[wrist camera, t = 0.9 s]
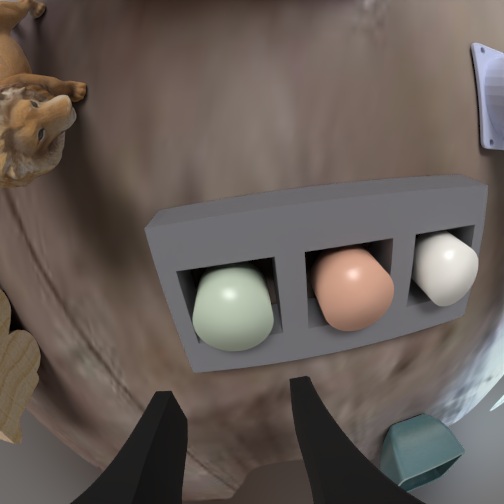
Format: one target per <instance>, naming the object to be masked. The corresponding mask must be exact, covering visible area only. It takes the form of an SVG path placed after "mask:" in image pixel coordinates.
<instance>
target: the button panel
mask: <svg viewBox="0 0 504 504" xmlns="http://www.w3.org/2000/svg"><path fill="white" fill-rule="evenodd" d="M487 196H488V185H486V184H483V183H481V182H478V181H476V180H473V179H471V178H468V177H466V176H463V175H436V176H418V177H403V178H390V179H377V180H366V181H355V182H345V183H336V184H327V185H318V186H309V187H301V188H293V189H286V190H278V191H271V192H264V193H257V194H250V195H244V196H237V197H231V198H225V199H219V200H213V201H207V202H201V203H195V204H190V205H184V206H179V207H173V208H168V209H163V210H159V211H158V212H157V213H156V214H155V216H154V217H153V218H152V219H151V221H150V222H149V223H148V225H147V226H146V227H145V229H144V230H145V233H146V237H147V240H148V244H149V247H150V250H151V254H152V257H153V260H154V264H155V267H156V270H157V273H158V276H159V280H160V283H161V286H162V289H163V292H164V295H165V298H166V301H167V303H168V306H169V309H170V312H171V315H172V318H173V320H174V323H175V326H176V329H177V331H178V334H179V337H180V339H181V342H182V345H183V347H184V350H185V352H186V355H187V357H188V360H189V362H190V365H191V367H192V370H193V372H194V373H196V372H208V371H219V370H229V369H237V368H246V367H253V366H261V365H268V364H274V363H281V362H287V361H293V360H299V359H304V358H310V357H315V356H320V355H325V354H330V353H335V352H339V351H344V350H348V349H353V348H357V347H361V346H365V345H369V344H373V343H377V342H381V341H385V340H389V339H392V338H396V337H399V336H403V335H406V334H410V333H413V332H417V331H420V330H423V329H426V328H429V327H432V326H436V325H439V324H442V323H445V322H447V321H450V320H453V319H456V318H459V317H462V316H464V312H465V309H466V306H467V302H468V299H469V295H470V291H471V288H470V289H469V290H468V292H467V293H466V294H465V295H464V296H463V297H462V298H461V299H460V300H459V301H457V302H456V303H454V304H452V305H449V306H438V305H436V304H435V303H434V302H433V301H432V300H431V299H430V298H429V297H428V296H427V294H426V293H425V292H424V291H423V290H422V289H421V288H420V287H419V286H418V285H417V284H416V282H415V281H414V280H413V279H412V278H411V272H412V265H413V256H414V247H415V236H416V234H421V233H427V232H433V231H439V230H445V229H447V232H449V233H450V234H452V235H453V236H455V237H456V238H457V239H459V240H460V241H462V242H463V243H465V244H466V245H467V246H469V247H470V248H472V249H473V250H474V251H475V253H476V254H477V257H479V252H480V247H481V241H482V235H483V229H484V222H485V214H486V206H487ZM365 242H371V251H370V254H371V255H372V256H373V257H374V258H375V259H376V261H377V262H378V263H379V264H380V265H381V266H382V267H383V268H384V270H385V271H386V272H387V273H388V274H389V275H390V277H391V279H392V281H393V284H394V296H393V299H392V302H391V304H390V306H389V308H388V310H387V311H386V312H385V314H384V315H383V316H382V317H381V318H380V319H379V320H377V321H376V322H375V323H373V324H372V325H370V326H368V327H366V328H363V329H360V330H356V331H342V330H338V329H336V328H334V327H332V326H331V325H330V324H329V323H328V322H327V320H326V319H325V316H324V314H323V312H322V309H321V307H320V305H319V302H318V300H317V298H316V297H315V298H309V299H307V284H306V267H305V252H308V251H314V250H321V249H327V248H333V247H340V246H346V245H353V244H359V243H365ZM269 257H271V259H272V267H273V275H274V284H275V292H276V300H277V304H273V305H271V306H272V312H273V318H274V322H273V327H272V330H271V332H270V334H269V335H268V337H267V338H266V339H265V340H264V341H263V342H261V343H260V344H258V345H257V346H255V347H253V348H250V349H247V350H242V351H224V350H220V349H217V348H214V347H212V346H210V345H208V344H207V343H205V342H204V341H203V340H202V339H201V338H200V337H199V336H198V335H197V333H196V331H195V329H194V326H193V312H194V307H195V301H196V296H197V292H196V288H195V285H194V281H193V277H192V274H191V270H190V269H195V268H202V267H209V266H215V265H222V264H229V263H236V262H242V261H249V260H255V259H262V258H269ZM471 287H472V286H471Z"/></svg>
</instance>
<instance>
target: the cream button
mask: <svg viewBox="0 0 504 504" xmlns="http://www.w3.org/2000/svg"><path fill="white" fill-rule="evenodd" d="M477 271H478V257H477V254H476V253H475V251H474V250H473V249H472V248H470V247H469V246H467V245H466V244H465V243H463V242H462V241H460V240H459V239H457V238H456V237H455V236H453V235H452V234H450V233H449V232H447V231H446V230H439V231H433V232H427V233H422V234H421V235H419V236H418V237H417V239H416V240H415V247H414V256H413V265H412V272H411V278H412V279H413V280H414V281H415V282H416V284H417V285H418V286H419V287H420V288H421V289H422V290H423V291H424V292H425V293H426V294H427V296H428V297H429V298H430V299H431V300H432V301H433V302H434V303H435V304H436V305H438V306H449V305H452V304H454V303H456V302H457V301H459V300H460V299H461V298H462V297H463V296H464V295H465V294H466V293H467V292H468V290H469V289H470V288H471V286H472V284H473V282H474V280H475V278H476V275H477Z"/></svg>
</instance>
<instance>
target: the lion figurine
mask: <svg viewBox="0 0 504 504" xmlns="http://www.w3.org/2000/svg"><path fill="white" fill-rule="evenodd" d="M45 8H46V6H45V4H43V3H41V2H37V1H33V0H19V1H18V2H7V1H0V189H2V188H3V187H20V186H27V185H28V184H29V183H30V182H31V181H32V180H33V179H34V178H36V177H39V176H41V175H42V174H45V173H47V172H49V171H51V170H52V169H53V168H54V167H56V165H57V164H58V163H59V162H60V159H61V157H62V150H63V148H64V141H65V130H67V129H68V128H69V127H70V126H72V124H73V123H74V122H75V120H76V112H75V110H74V108H73V107H72V102H71V101H73V102H77V101H79V100H81V99H83V98H84V95H85V93H86V84H85V83H81V82H75V81H61V80H59V79H57V78H55V77H48V76H42V75H35V74H32V70H31V67H30V64H29V62H28V60H27V58H26V56H25V54H24V52H23V50H22V49H21V47H20V46H19V45H18V43H17V42H16V41H15V40H14V39H13V38H12V37H11V35H10V31H11V30H12V29H13V28H14V27H15V26H16V25H17V24H18V23H19V22H20V21H21V20H22V19H24V17H25V16H26V15H27V13H28V11H29V12H30V15H31V17H33V18H38V17H40V16H41V15H42V14H43V13H44V11H45Z"/></svg>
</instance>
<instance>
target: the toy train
mask: <svg viewBox="0 0 504 504" xmlns="http://www.w3.org/2000/svg"><path fill="white" fill-rule="evenodd" d="M10 321H11V307H10V303H9V300H8V298H7V297H6V295H5V294H4V292H3V291H2V290H1V289H0V439H2V440H5V441H8V442H11V443H14V444H20V443H21V441H22V431H21V427H20V422H19V420H20V418H21V415H22V413H23V411H24V409H25V407H26V405H27V403H28V401H29V399H30V397H31V395H32V393H33V391H34V389H35V387H36V385H37V384H38V382H39V376H38V374H37V370H38V368H39V365H40V358H41V355H40V350H39V347H38V344H37V342H36V340H35V339H34V337H33V336H32V335H31V334H30V333H29V332H27V331H25V330H14V331H9V327H10Z"/></svg>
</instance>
